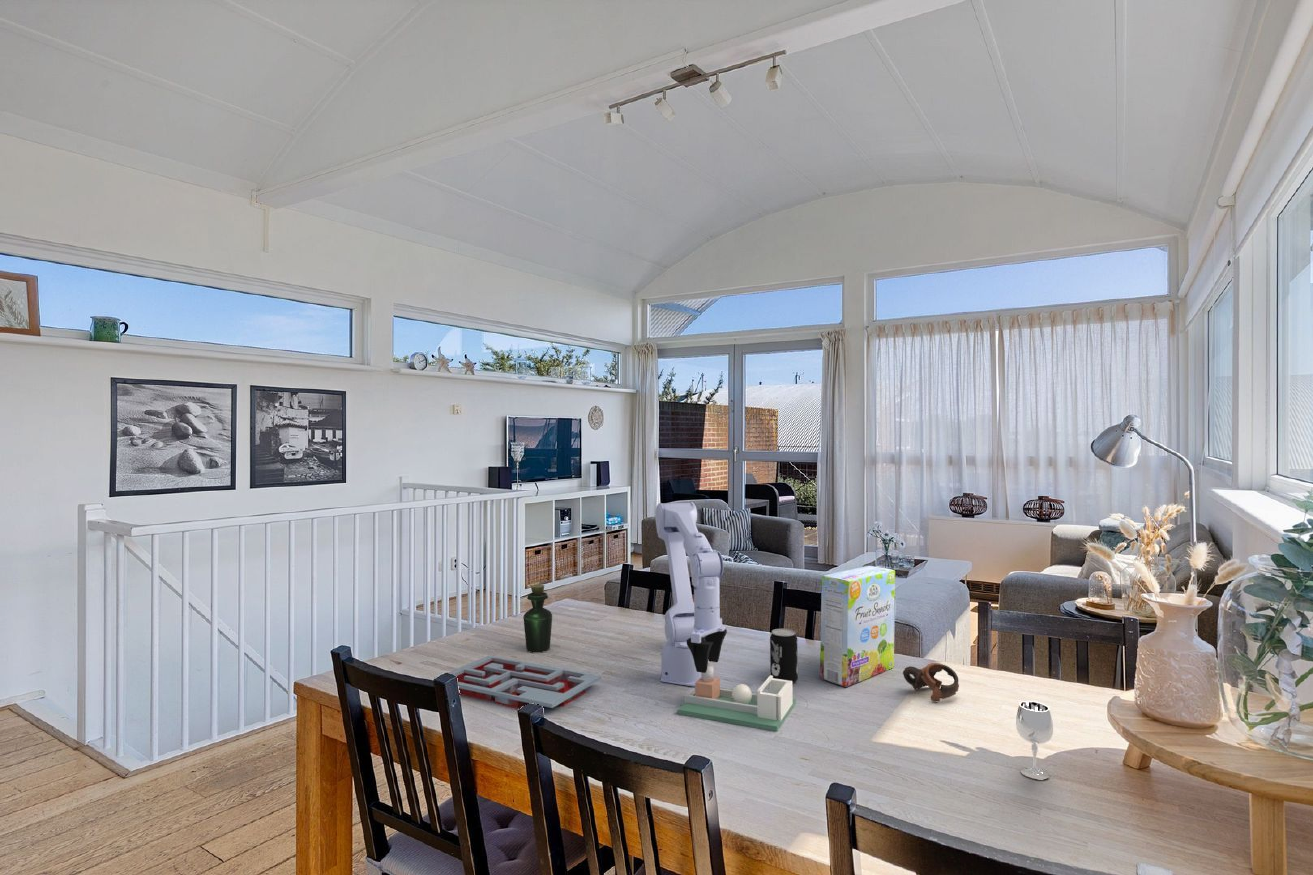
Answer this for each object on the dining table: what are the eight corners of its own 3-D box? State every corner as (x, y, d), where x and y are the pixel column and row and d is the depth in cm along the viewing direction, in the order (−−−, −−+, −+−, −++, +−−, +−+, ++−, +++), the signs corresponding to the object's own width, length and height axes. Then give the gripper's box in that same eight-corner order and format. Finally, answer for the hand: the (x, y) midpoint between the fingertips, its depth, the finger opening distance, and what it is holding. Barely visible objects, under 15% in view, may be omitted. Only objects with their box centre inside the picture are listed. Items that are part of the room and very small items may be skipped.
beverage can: (797, 686, 165) (797, 636, 165) (769, 684, 166) (769, 634, 166) (797, 676, 171) (797, 628, 171) (770, 675, 172) (770, 627, 172)
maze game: (432, 692, 164) (432, 678, 164) (489, 667, 182) (488, 655, 182) (552, 718, 148) (552, 704, 148) (601, 688, 165) (601, 675, 165)
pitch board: (677, 713, 149) (677, 702, 149) (703, 688, 163) (703, 678, 163) (777, 731, 140) (777, 719, 140) (795, 703, 154) (795, 692, 154)
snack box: (849, 689, 162) (848, 580, 162) (818, 680, 169) (817, 575, 169) (897, 668, 177) (896, 568, 177) (867, 660, 183) (866, 563, 183)
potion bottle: (538, 643, 201) (537, 581, 201) (558, 648, 196) (558, 585, 196) (517, 650, 194) (516, 586, 194) (538, 655, 190) (537, 590, 190)
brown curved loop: (951, 690, 163) (962, 666, 159) (951, 721, 155) (962, 697, 151) (899, 672, 166) (908, 648, 162) (896, 702, 158) (905, 678, 154)
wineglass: (1009, 767, 124) (1008, 700, 124) (1039, 765, 124) (1039, 699, 124) (1029, 783, 118) (1028, 713, 118) (1061, 781, 119) (1060, 711, 119)
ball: (729, 706, 150) (729, 686, 150) (735, 699, 154) (735, 680, 154) (748, 709, 148) (748, 689, 148) (754, 702, 152) (754, 682, 152)
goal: (757, 716, 145) (757, 690, 145) (770, 700, 154) (770, 675, 154) (780, 720, 142) (780, 693, 142) (792, 703, 152) (792, 678, 151)
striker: (695, 700, 153) (695, 668, 153) (703, 692, 158) (703, 662, 158) (712, 703, 151) (712, 671, 151) (719, 695, 156) (719, 664, 156)
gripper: (712, 615, 146) (713, 679, 146) (734, 600, 159) (734, 659, 159) (681, 612, 149) (682, 674, 149) (705, 597, 162) (706, 655, 162)
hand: (707, 666), depth 154 cm, fingers open, 7 cm apart
